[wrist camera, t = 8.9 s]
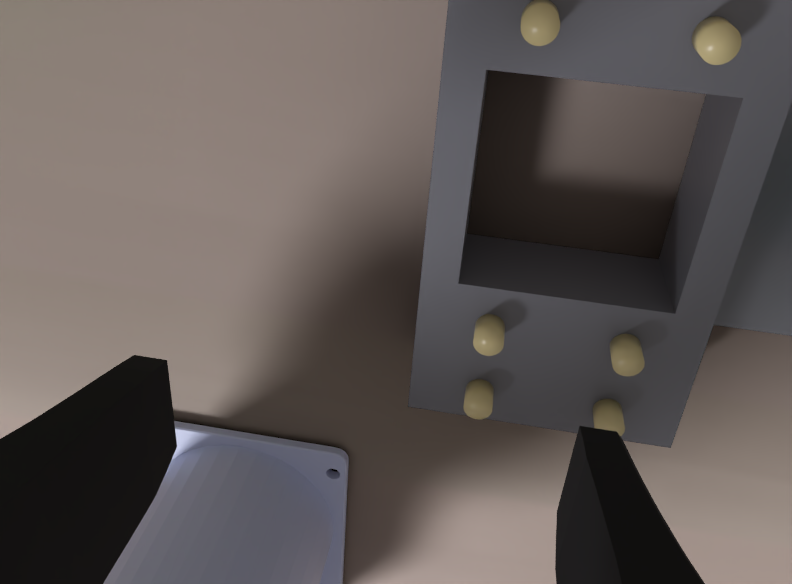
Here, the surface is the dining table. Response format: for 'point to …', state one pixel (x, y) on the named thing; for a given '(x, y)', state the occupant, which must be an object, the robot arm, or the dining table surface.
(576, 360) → the box
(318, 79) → the dining table surface
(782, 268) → the pad
